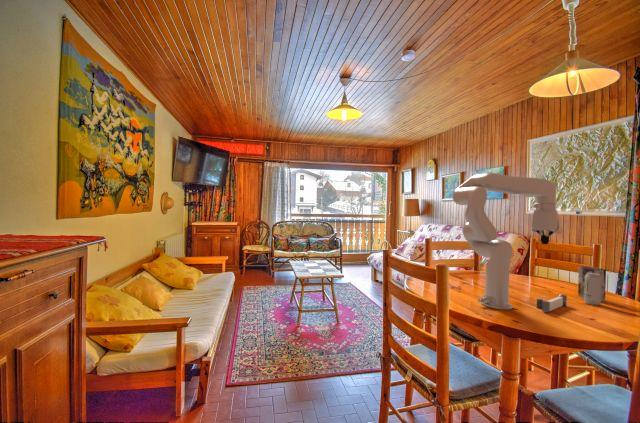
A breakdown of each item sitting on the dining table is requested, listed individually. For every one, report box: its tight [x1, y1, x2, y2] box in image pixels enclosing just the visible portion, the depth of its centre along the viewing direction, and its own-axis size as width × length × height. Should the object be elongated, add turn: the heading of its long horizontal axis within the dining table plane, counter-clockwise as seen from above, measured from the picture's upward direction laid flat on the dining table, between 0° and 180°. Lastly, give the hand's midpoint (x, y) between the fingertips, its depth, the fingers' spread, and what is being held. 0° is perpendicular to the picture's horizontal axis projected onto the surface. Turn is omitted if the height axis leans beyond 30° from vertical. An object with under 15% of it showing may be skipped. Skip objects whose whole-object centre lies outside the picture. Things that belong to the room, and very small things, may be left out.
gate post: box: [557, 293, 568, 307], centre depth 136 cm, size 3×3×5 cm
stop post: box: [536, 298, 544, 310], centre depth 132 cm, size 2×2×4 cm
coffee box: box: [577, 266, 607, 302], centre depth 148 cm, size 9×6×16 cm
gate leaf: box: [541, 296, 564, 313], centre depth 130 cm, size 2×18×4 cm, turn 122°
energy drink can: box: [583, 272, 602, 306], centre depth 140 cm, size 6×6×15 cm
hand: (544, 243), depth 141 cm, fingers closed
